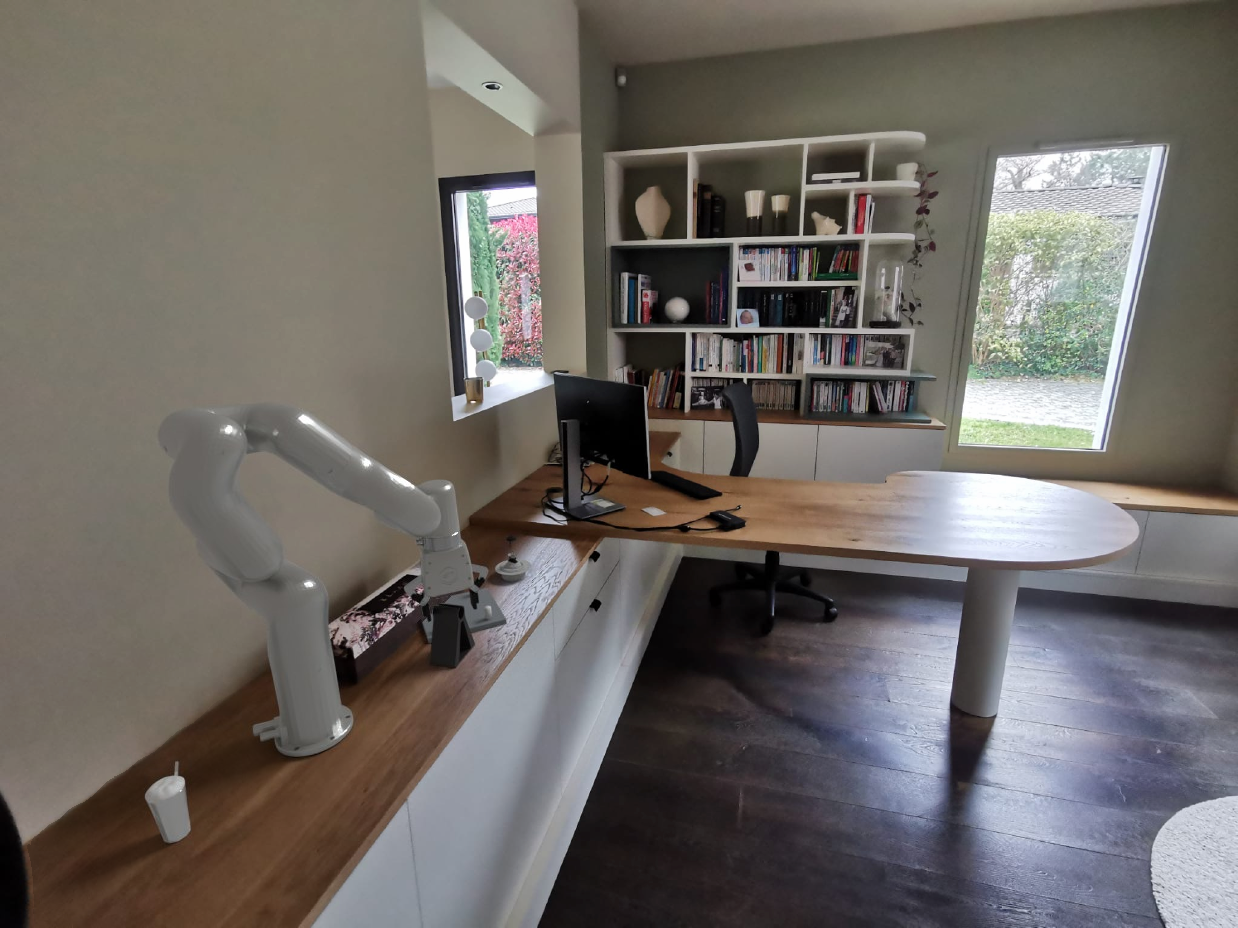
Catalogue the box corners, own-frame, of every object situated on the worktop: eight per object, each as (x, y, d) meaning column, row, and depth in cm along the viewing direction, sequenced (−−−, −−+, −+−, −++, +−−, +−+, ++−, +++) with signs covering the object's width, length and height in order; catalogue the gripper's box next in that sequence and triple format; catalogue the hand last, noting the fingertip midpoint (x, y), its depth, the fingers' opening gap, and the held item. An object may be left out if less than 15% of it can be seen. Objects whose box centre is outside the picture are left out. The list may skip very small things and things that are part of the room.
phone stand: (455, 668, 125) (449, 617, 121) (429, 664, 126) (423, 614, 123) (475, 645, 133) (470, 596, 130) (451, 641, 134) (446, 593, 131)
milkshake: (206, 815, 90) (193, 760, 87) (183, 846, 85) (167, 789, 82) (176, 816, 90) (161, 761, 87) (150, 848, 84) (133, 791, 82)
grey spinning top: (536, 532, 164) (510, 525, 169) (511, 545, 156) (484, 537, 161) (539, 573, 167) (513, 565, 173) (514, 587, 159) (488, 578, 165)
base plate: (428, 643, 134) (426, 626, 133) (416, 607, 149) (415, 592, 148) (506, 623, 142) (505, 607, 140) (487, 591, 157) (486, 577, 156)
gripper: (400, 555, 116) (412, 632, 121) (487, 537, 123) (495, 610, 128) (395, 542, 122) (407, 615, 127) (479, 524, 129) (487, 594, 134)
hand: (451, 612), depth 127 cm, fingers open, 9 cm apart
